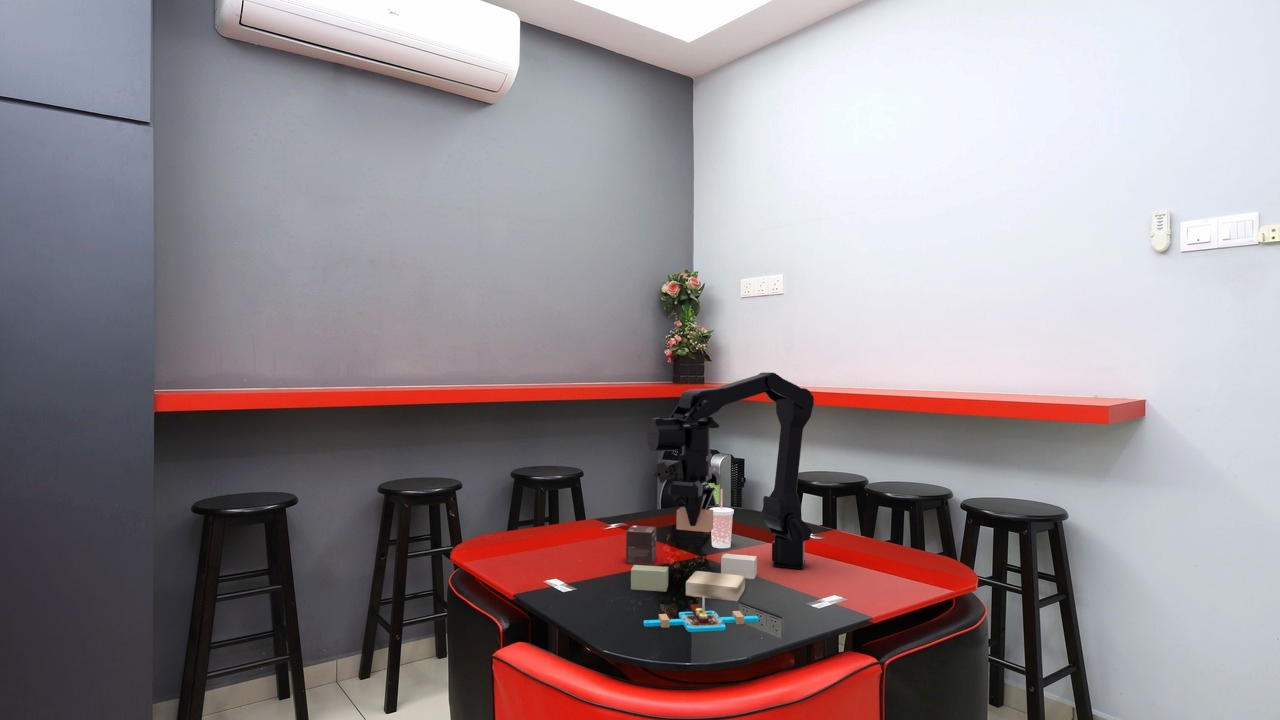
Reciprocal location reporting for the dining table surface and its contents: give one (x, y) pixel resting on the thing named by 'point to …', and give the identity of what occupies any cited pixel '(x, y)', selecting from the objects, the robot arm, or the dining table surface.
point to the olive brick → (649, 578)
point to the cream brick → (739, 565)
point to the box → (641, 545)
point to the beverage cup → (722, 526)
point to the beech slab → (715, 585)
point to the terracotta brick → (702, 523)
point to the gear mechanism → (701, 619)
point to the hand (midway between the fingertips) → (695, 524)
